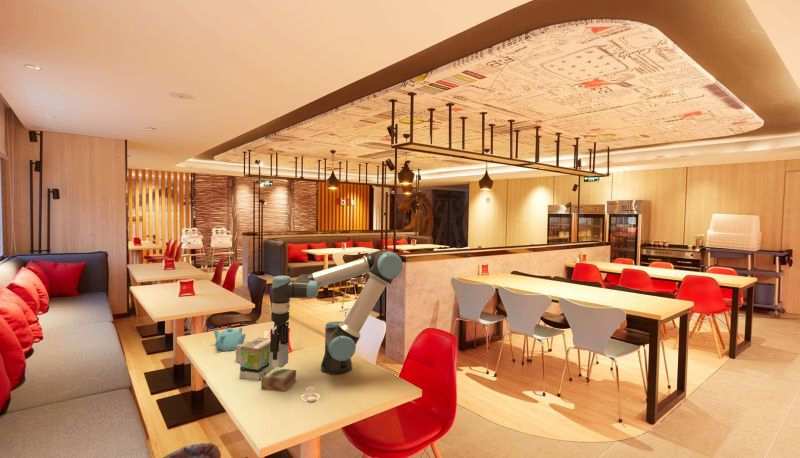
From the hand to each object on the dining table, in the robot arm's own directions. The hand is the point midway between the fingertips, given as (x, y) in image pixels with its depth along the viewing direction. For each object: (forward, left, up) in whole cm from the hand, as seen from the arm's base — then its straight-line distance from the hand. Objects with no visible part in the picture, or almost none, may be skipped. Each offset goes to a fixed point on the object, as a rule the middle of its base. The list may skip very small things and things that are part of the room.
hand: (279, 363), depth 176 cm
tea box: (+15, -10, -10) cm, 21 cm away
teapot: (+47, -39, -10) cm, 62 cm away
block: (0, 0, 0) cm, 0 cm away
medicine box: (+29, -23, -10) cm, 38 cm away
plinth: (0, 0, -10) cm, 10 cm away
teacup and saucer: (-16, +10, -10) cm, 21 cm away
